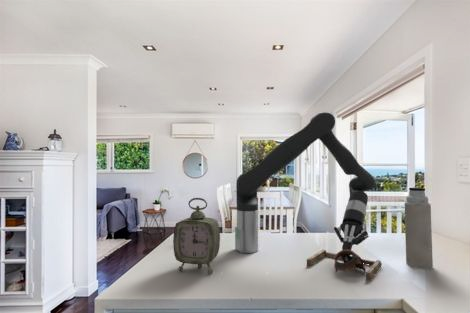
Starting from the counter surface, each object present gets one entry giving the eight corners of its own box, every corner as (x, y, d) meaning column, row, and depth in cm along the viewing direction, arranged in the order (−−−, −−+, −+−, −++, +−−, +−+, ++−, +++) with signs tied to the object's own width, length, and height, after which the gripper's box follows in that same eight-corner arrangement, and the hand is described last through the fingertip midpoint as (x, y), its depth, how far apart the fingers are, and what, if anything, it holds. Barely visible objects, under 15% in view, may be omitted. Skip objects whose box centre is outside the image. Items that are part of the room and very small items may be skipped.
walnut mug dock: (324, 255, 110) (324, 248, 110) (381, 266, 97) (381, 259, 97) (306, 266, 98) (306, 259, 98) (369, 281, 84) (369, 273, 85)
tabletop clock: (172, 273, 92) (173, 198, 93) (183, 263, 101) (184, 196, 102) (213, 276, 89) (213, 199, 90) (221, 266, 97) (221, 196, 99)
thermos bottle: (403, 260, 103) (401, 186, 105) (428, 262, 101) (425, 187, 102) (409, 267, 96) (407, 188, 97) (436, 270, 93) (433, 188, 94)
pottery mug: (373, 278, 88) (363, 258, 86) (345, 290, 89) (335, 270, 87) (358, 257, 99) (349, 239, 98) (333, 267, 101) (324, 249, 99)
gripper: (335, 206, 112) (325, 243, 102) (371, 209, 103) (363, 250, 93) (340, 217, 115) (330, 254, 105) (374, 221, 107) (367, 261, 97)
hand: (345, 252), depth 99 cm, fingers closed
